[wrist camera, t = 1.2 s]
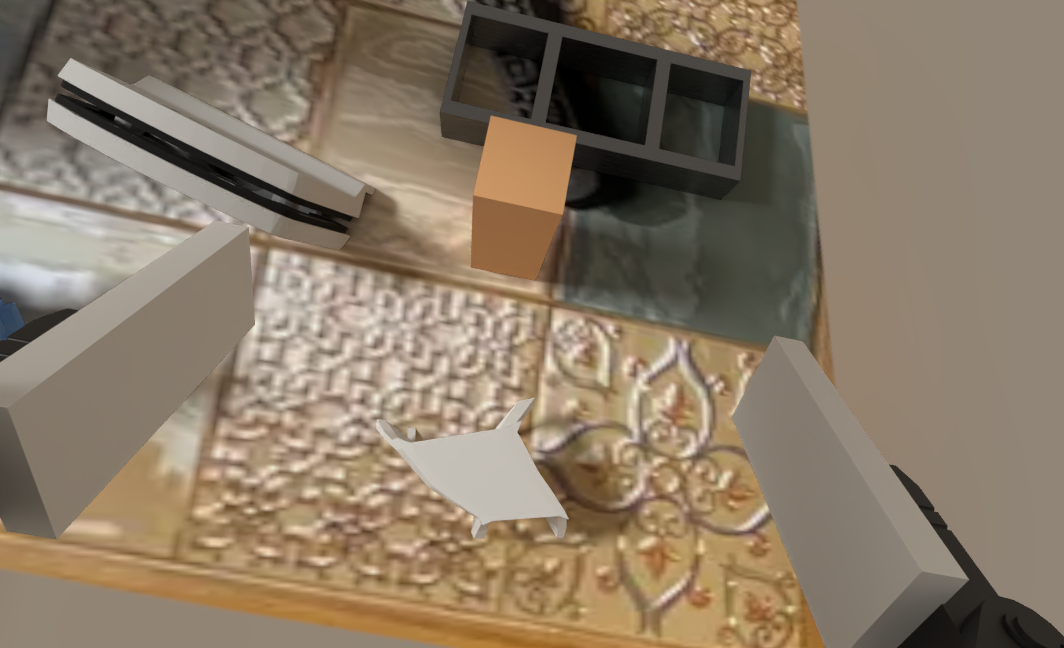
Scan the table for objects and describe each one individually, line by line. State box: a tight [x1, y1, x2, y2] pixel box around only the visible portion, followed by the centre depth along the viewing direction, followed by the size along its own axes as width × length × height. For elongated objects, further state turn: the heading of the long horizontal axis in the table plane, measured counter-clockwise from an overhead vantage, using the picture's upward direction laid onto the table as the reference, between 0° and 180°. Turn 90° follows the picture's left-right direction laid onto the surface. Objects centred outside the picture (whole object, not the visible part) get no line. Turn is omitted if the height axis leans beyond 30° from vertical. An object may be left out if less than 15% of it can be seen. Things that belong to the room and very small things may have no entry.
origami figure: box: [376, 398, 568, 538], centre depth 33 cm, size 12×8×5 cm
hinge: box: [47, 58, 375, 250], centre depth 33 cm, size 17×5×10 cm, turn 64°
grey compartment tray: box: [440, 1, 751, 200], centre depth 40 cm, size 21×9×3 cm, turn 80°
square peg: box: [471, 116, 577, 280], centre depth 33 cm, size 4×4×11 cm
